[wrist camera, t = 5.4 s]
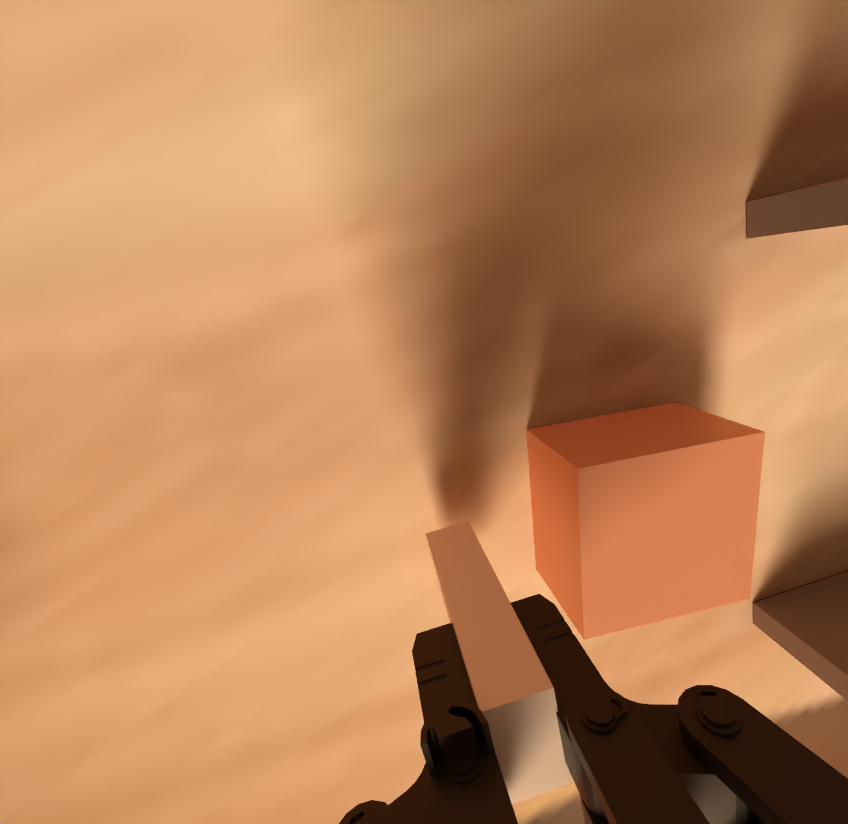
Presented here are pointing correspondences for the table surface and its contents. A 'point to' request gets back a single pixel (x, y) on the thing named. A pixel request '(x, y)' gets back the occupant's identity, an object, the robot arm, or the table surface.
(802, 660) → the bin
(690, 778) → the robot arm
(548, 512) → the tile block
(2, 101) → the table surface
